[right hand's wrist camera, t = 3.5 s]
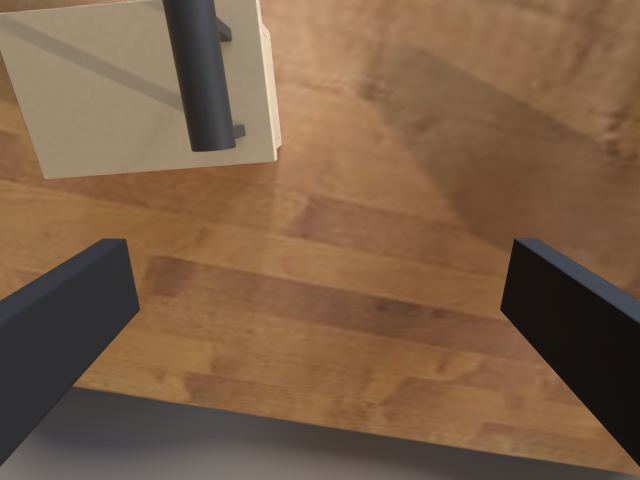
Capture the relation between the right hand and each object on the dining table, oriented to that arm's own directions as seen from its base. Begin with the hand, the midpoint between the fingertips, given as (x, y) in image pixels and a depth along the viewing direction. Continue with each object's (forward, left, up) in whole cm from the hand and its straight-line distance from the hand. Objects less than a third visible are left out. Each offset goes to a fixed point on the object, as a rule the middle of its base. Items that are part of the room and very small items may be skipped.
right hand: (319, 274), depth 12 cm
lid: (0, -13, -14) cm, 19 cm away
